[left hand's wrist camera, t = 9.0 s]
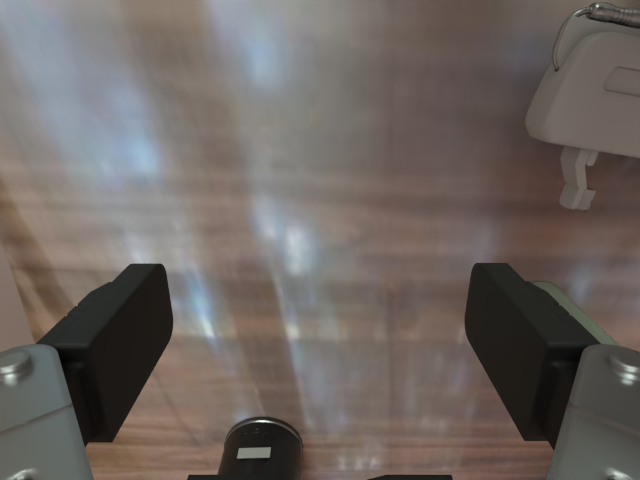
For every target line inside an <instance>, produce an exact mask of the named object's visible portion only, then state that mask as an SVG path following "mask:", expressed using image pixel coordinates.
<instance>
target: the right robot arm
mask: <svg viewBox="0 0 640 480" xmlns="http://www.w3.org/2000/svg"><path fill="white" fill-rule="evenodd" d="M584 14H586V17H587V18H588V19H585V18H580V17H579V16H581V15H584ZM606 22H608V23H606ZM612 23H614V24H612ZM617 24H618V25H617ZM525 125H526V128H527V131H528V134H529V136H531V137H533V138H535V139H538V140H541V141H545V142H548V143H553V144H559V145H565V146H564V149H563V152H562V154H561V157H560V161H561V166H562V171H563V176H564V181H565V182H566V183H565V186H564V188H563V191H562V193H561V196H560V199H559V203H560V205H562V206H563V207H565V208H567V209H572V210H580V211H587V210H588V209H589V208H590V206H591V204H590V201H592V200H593V199H594V196H595V194H596V192H597V191H595V190H593V189H591V188H588V187H587V182H586V171H585V165H587V166H593V165H594V163H595V160H596V158H597V156H598V154H599V151H600V152H606V153H612V154H617V155H623V156H629V157H635V158H640V9H635V8H622V7H616V6H615V5H613V4H610V3H605V2H594V3H592V4H591V5H590V6H589V7H585V8H582V9H579V10H577V11H575V12H574V13H572V14H571V15H570V16H569V17H568V18H567V19H566V20H565V21H564V22H563V24H562V26H561V28H560V30H559V33H558V36H557V38H556V41H555V44H554V47H553V51H552V61H551V63H550V65H549V67H548V69H547V70H546V72H545V74H544V76H543V78H542V80H541V82H540V84H539V87H538V89H537V91H536V93H535V95H534V97H533V100H532V102H531V105H530V107H529V109H528V112H527V115H526V118H525Z"/></svg>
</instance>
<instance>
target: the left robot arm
mask: <svg viewBox="0 0 640 480" xmlns="http://www.w3.org/2000/svg"><path fill="white" fill-rule="evenodd" d="M172 330H173V314H172V308H171V301H170V294H169V288H168V281H167V275H166V270H165V268H164V266H163V265H162V264H130V265H129V266H128V267H127V268H126V269H125V270H124V271H123V272H122V273H121V274H120V275H119V276H118V277H117V278H116V279H115V280H114V281H113V282H108V283H107V284H105V285H103V286H101V287H99V288H97V289H95V290H93V291H92V292H90V293H89V294H88V295H87V296H86V297H85V298H84V299H83V300H82V301H80V302H79V303H78V306H75V307H74V308H73V309H72V310H71V311H70V312H69V313H68V316H65V317H64V318H63V319H61V320H60V321H59V322H58V323H57V324H56V325H55V326H54V327H53V328H52V329H51V330H50V331H49V332H48V333H47V334H46V335H45V336H44V337H43V338H41V339H40V340H39V341H38V342H37V343H36V344H31V345H24V346H19V347H15V348H11V349H8V350H5V351H2V352H0V480H94V478H93V474H92V471H91V467H90V464H89V460H88V457H87V453H86V450H85V447H86V445H87V444H88V442H113V440H114V438H115V436H116V435H117V433H118V431H119V429H120V428H121V426H122V424H123V422H124V420H125V419H126V417H127V415H128V413H129V412H130V410H131V408H132V406H133V405H134V403H135V401H136V399H137V397H138V396H139V394H140V392H141V390H142V389H143V387H144V385H145V383H146V381H147V380H148V378H149V376H150V374H151V373H152V371H153V369H154V367H155V366H156V364H157V362H158V360H159V358H160V357H161V355H162V353H163V351H164V350H165V348H166V346H167V344H168V343H169V341H170V338H171V335H172ZM465 331H466V335H467V338H468V340H469V342H470V344H471V346H472V348H473V349H474V351H475V353H476V355H477V357H478V358H479V360H480V362H481V364H482V366H483V367H484V369H485V371H486V373H487V375H488V376H489V378H490V380H491V382H492V383H493V385H494V387H495V389H496V391H497V392H498V394H499V396H500V398H501V400H502V401H503V403H504V405H505V407H506V409H507V410H508V412H509V414H510V416H511V418H512V419H513V421H514V423H515V425H516V427H517V428H518V430H519V432H520V434H521V435H522V437H523V439H524V441H548V442H549V443H550V445H551V447H552V448H553V450H554V453H553V457H552V460H551V464H550V467H549V471H548V474H547V478H546V480H640V352H638V351H635V350H632V349H629V348H625V347H621V346H616V345H609V344H601V343H600V342H599V341H598V340H597V339H596V338H595V337H594V336H593V335H592V334H591V333H590V332H589V331H588V330H587V329H586V328H585V327H583V326H582V325H581V324H580V323H579V322H578V321H577V320H576V319H575V318H574V317H573V316H572V315H569V312H568V311H567V310H566V309H565V308H564V307H563V306H562V305H559V303H558V302H557V301H556V300H555V299H554V298H553V297H552V296H551V295H550V294H549V293H548V292H547V291H545V290H543V289H541V288H540V287H538V286H536V285H534V284H532V283H530V282H525V281H524V280H523V279H522V278H521V277H520V276H519V275H518V274H517V273H516V272H515V271H514V270H513V269H512V268H511V267H510V266H509V265H508V264H507V263H476V264H475V265H474V266H473V269H472V272H471V278H470V285H469V292H468V298H467V305H466V312H465ZM302 449H303V446H302V440H301V438H300V436H299V434H298V433H297V431H296V430H295V429H294V428H292V427H291V426H290V425H288V424H287V423H285V422H283V421H280V420H278V419H274V418H268V417H255V418H250V419H246V420H244V421H241V422H240V423H238V424H236V425H235V426H234V427H233V428H232V429H231V430H230V431H229V433H228V434H227V437H226V440H225V444H224V451H223V455H222V459H221V463H220V467H219V471H218V475H189V476H188V479H187V480H300V472H301V457H302ZM368 480H453V479H452V476H451V475H384V476H380V477H376V478H372V479H368Z"/></svg>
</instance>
